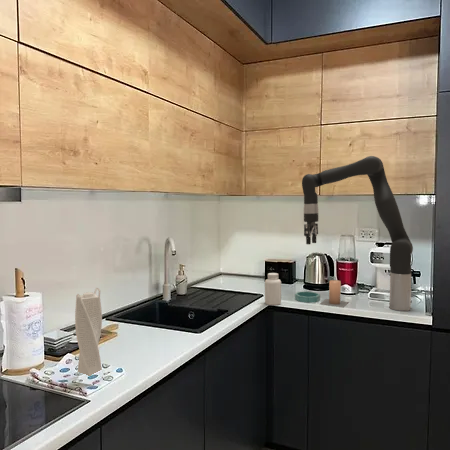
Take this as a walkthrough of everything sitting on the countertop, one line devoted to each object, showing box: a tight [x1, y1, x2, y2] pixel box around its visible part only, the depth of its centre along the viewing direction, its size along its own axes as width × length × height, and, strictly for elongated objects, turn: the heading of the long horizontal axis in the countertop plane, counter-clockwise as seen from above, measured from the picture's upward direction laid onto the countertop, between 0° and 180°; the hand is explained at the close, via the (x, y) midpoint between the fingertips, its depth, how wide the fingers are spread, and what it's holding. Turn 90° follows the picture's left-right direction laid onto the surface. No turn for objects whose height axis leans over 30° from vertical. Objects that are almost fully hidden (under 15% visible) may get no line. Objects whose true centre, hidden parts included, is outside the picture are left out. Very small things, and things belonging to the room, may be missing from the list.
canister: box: [328, 279, 342, 304], centre depth 215 cm, size 5×5×11 cm
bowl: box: [294, 290, 321, 304], centre depth 222 cm, size 12×12×3 cm
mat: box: [319, 298, 350, 308], centre depth 215 cm, size 12×12×1 cm
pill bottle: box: [264, 272, 282, 306], centre depth 216 cm, size 8×8×15 cm
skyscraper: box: [74, 287, 103, 376], centre depth 127 cm, size 8×8×28 cm
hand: (311, 243), depth 227 cm, fingers open, 8 cm apart
